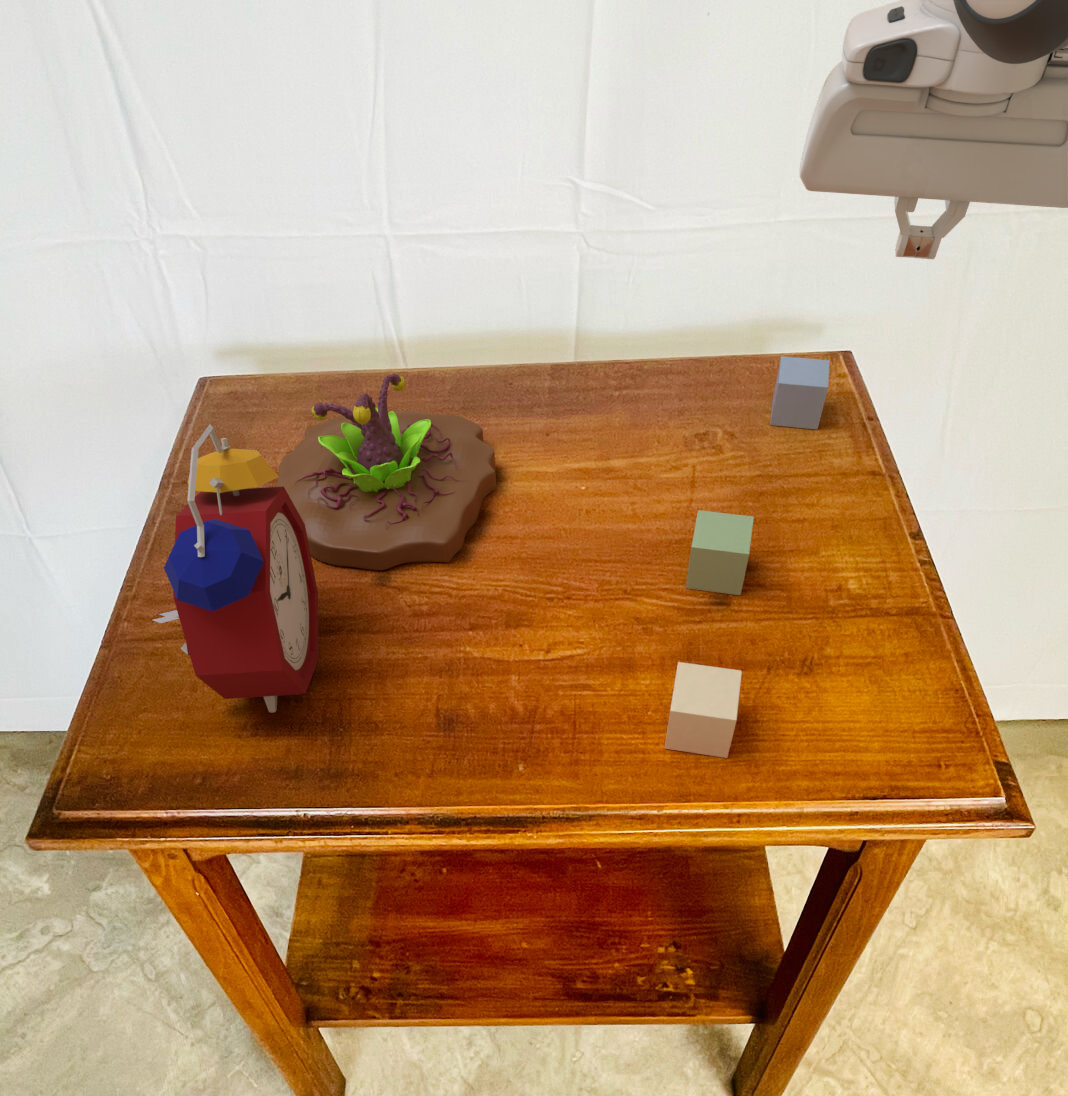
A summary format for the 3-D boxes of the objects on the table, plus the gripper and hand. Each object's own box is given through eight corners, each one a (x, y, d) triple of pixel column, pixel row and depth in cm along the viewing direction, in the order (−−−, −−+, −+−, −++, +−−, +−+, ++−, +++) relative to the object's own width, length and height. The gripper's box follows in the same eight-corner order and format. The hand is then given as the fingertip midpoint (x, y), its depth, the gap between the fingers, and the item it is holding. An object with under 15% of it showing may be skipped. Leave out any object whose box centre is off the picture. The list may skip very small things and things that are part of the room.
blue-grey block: (772, 398, 89) (781, 355, 85) (819, 402, 88) (829, 360, 85) (769, 425, 87) (778, 382, 83) (817, 430, 86) (828, 387, 82)
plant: (249, 565, 78) (206, 454, 68) (308, 428, 89) (277, 317, 80) (478, 577, 76) (465, 466, 67) (508, 436, 87) (500, 324, 78)
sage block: (692, 551, 77) (698, 509, 73) (745, 558, 76) (754, 516, 72) (685, 588, 74) (691, 546, 70) (740, 595, 73) (749, 554, 70)
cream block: (672, 700, 67) (678, 661, 64) (732, 709, 67) (742, 670, 63) (664, 748, 65) (670, 710, 61) (727, 758, 64) (736, 720, 60)
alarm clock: (312, 735, 67) (227, 523, 50) (196, 742, 67) (73, 532, 50) (328, 593, 75) (261, 373, 59) (225, 599, 75) (129, 381, 59)
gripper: (1140, 30, 60) (1048, 245, 71) (827, 17, 63) (786, 226, 74) (1159, 65, 56) (1058, 286, 68) (825, 50, 59) (782, 264, 70)
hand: (914, 255), depth 71 cm, fingers closed
